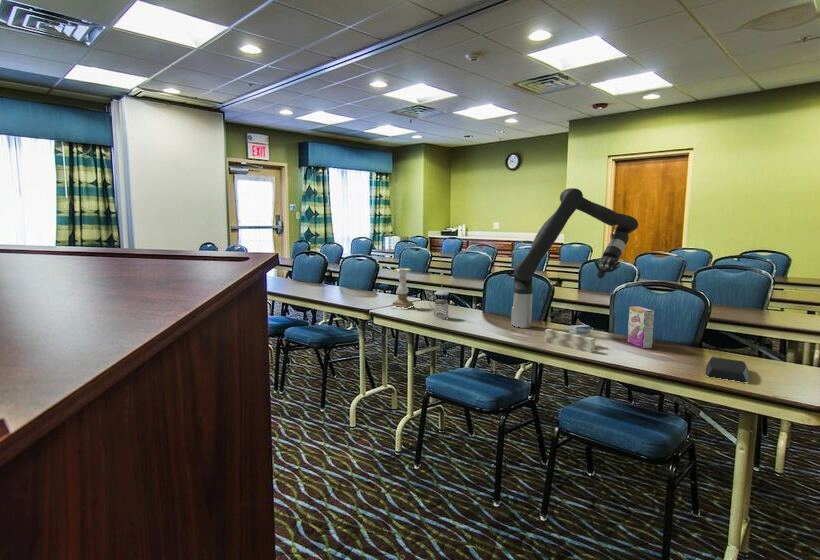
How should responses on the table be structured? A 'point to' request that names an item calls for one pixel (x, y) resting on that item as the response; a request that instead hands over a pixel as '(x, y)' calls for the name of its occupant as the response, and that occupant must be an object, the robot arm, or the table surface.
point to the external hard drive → (727, 369)
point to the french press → (443, 304)
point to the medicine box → (580, 330)
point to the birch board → (570, 340)
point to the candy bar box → (640, 327)
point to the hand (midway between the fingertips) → (599, 277)
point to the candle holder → (402, 290)
